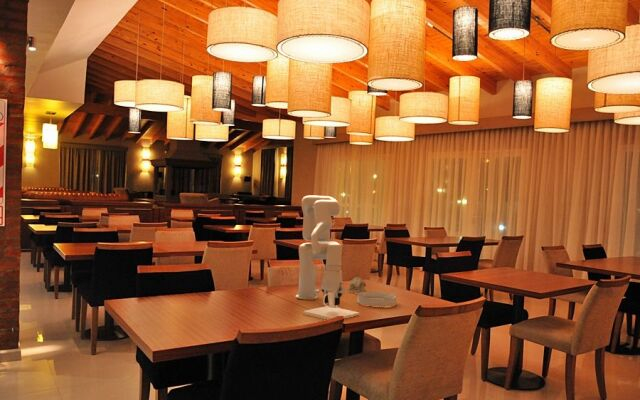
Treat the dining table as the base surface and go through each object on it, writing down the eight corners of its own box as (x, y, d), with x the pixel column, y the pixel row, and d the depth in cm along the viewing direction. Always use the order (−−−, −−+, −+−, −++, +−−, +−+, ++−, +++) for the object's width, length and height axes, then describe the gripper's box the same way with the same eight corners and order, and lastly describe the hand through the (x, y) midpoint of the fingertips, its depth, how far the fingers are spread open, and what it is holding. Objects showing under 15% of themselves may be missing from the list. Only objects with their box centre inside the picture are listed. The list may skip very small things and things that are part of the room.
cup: (343, 307, 262) (343, 291, 261) (327, 309, 256) (328, 293, 255) (334, 305, 267) (335, 289, 267) (319, 307, 261) (319, 291, 261)
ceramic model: (343, 291, 328) (344, 275, 328) (358, 290, 334) (359, 274, 334) (357, 295, 316) (357, 278, 316) (371, 294, 322) (372, 278, 322)
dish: (373, 298, 310) (374, 290, 309) (404, 305, 294) (404, 296, 294) (348, 302, 294) (349, 294, 294) (379, 310, 278) (380, 300, 278)
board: (328, 308, 275) (328, 305, 275) (359, 315, 262) (359, 312, 262) (303, 314, 260) (303, 311, 260) (334, 321, 247) (334, 318, 247)
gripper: (315, 266, 264) (313, 302, 264) (342, 271, 252) (340, 308, 253) (324, 265, 269) (323, 300, 269) (351, 269, 258) (350, 306, 258)
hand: (331, 303), depth 261 cm, fingers closed on cup, 6 cm apart
